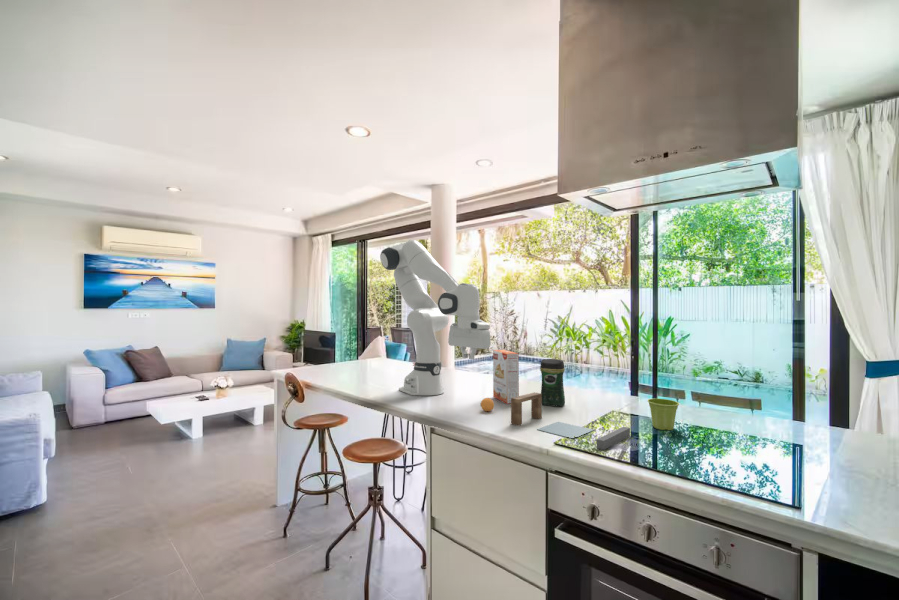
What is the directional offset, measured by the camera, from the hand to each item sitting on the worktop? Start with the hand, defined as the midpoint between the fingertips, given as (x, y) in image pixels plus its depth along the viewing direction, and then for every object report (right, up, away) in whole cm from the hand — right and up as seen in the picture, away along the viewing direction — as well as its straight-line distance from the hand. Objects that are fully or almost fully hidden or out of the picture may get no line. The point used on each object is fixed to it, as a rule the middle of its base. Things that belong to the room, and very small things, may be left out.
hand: (468, 358), depth 164 cm
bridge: (+20, -19, -20) cm, 34 cm away
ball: (+7, -17, -7) cm, 19 cm away
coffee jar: (+35, -20, +4) cm, 40 cm away
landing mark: (+30, -19, -31) cm, 47 cm away
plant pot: (+63, -19, -28) cm, 72 cm away
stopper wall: (+41, -19, -43) cm, 62 cm away
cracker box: (+16, -20, +11) cm, 28 cm away
